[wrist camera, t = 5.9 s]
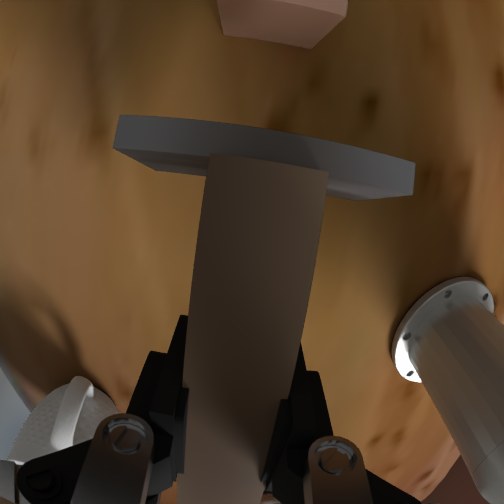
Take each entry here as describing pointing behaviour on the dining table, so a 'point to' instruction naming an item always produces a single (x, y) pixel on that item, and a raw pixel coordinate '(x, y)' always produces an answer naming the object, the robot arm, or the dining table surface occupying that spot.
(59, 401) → the mug
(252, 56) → the dining table surface
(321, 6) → the tile
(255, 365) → the scraper
